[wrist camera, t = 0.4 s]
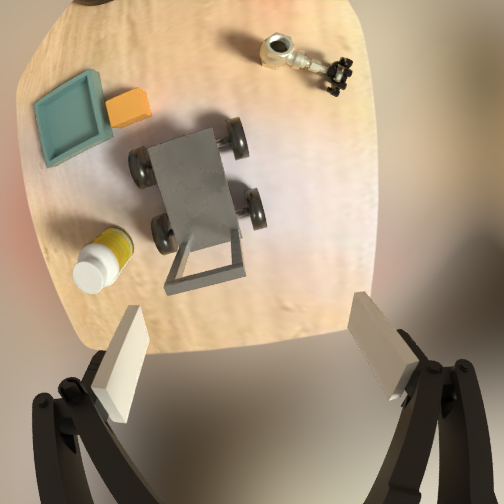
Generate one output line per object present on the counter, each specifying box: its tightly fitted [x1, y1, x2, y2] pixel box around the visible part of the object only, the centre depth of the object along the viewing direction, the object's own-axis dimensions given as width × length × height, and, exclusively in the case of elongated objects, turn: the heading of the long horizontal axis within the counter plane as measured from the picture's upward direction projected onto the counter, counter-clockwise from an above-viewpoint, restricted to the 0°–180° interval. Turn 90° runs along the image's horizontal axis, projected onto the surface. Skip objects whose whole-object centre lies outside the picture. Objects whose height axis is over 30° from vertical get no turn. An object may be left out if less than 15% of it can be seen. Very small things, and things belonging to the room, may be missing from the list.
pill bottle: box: [73, 227, 134, 294], centre depth 35 cm, size 6×6×12 cm
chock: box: [105, 88, 152, 128], centre depth 31 cm, size 4×5×4 cm
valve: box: [259, 33, 353, 97], centre depth 29 cm, size 7×7×12 cm
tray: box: [34, 68, 113, 168], centre depth 30 cm, size 12×12×3 cm
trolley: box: [128, 117, 267, 296], centre depth 30 cm, size 16×15×18 cm
